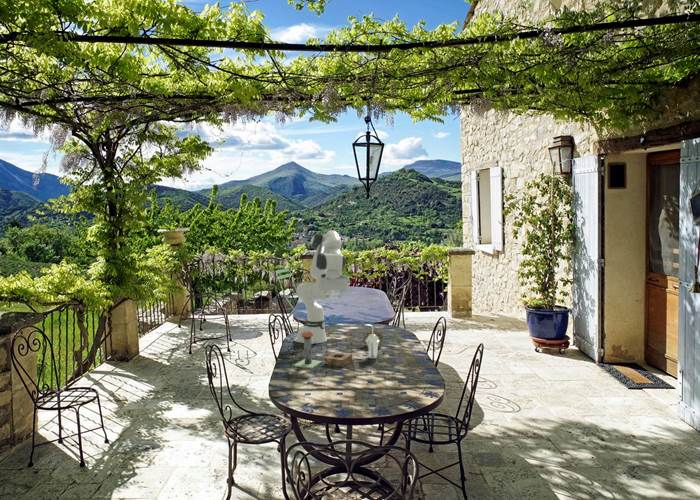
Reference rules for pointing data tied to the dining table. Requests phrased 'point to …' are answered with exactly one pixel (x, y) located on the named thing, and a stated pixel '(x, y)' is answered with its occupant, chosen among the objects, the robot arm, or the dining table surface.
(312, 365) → the mat
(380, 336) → the pine cone
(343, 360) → the collar
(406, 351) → the dining table surface
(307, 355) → the peg
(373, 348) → the cup with straw
